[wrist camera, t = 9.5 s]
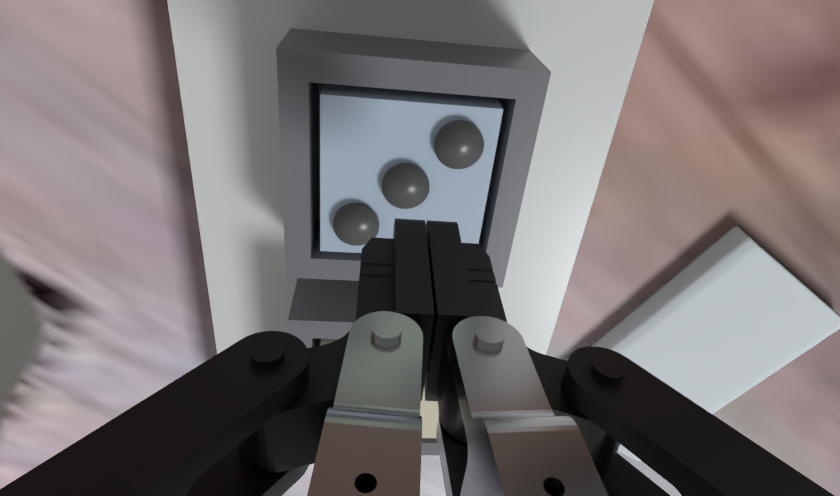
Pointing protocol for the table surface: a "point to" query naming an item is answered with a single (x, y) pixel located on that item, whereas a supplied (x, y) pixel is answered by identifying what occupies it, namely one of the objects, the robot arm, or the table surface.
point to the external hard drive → (723, 324)
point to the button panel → (403, 70)
